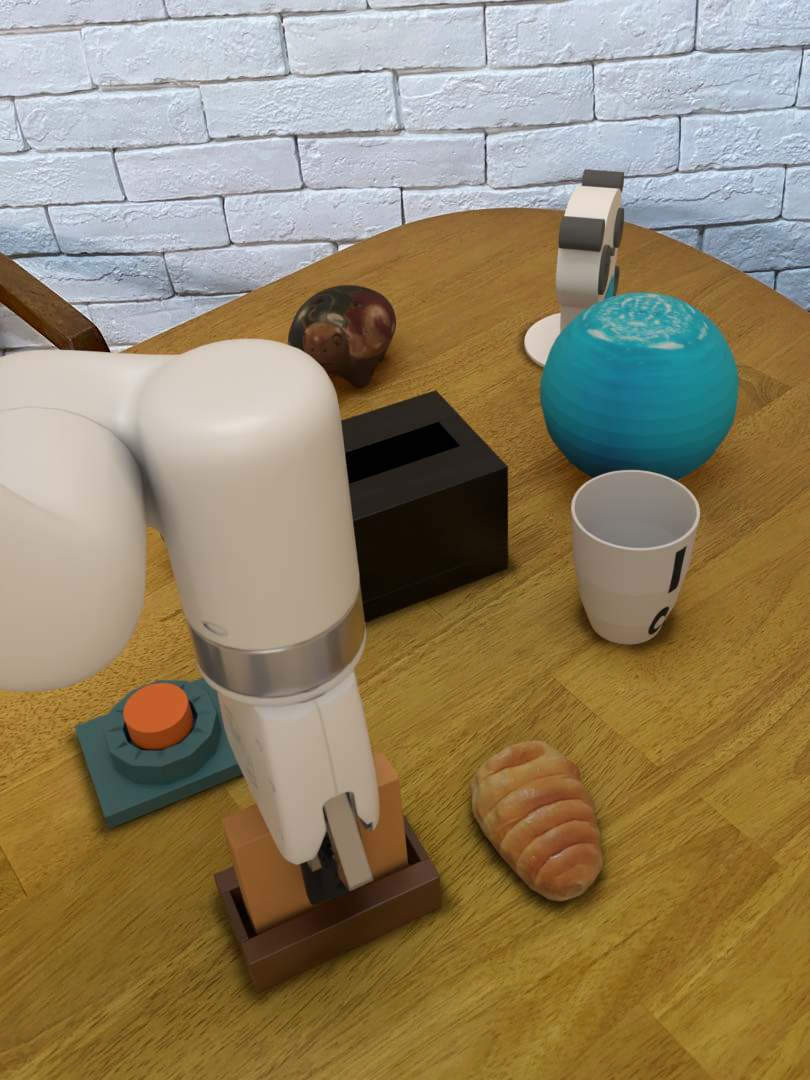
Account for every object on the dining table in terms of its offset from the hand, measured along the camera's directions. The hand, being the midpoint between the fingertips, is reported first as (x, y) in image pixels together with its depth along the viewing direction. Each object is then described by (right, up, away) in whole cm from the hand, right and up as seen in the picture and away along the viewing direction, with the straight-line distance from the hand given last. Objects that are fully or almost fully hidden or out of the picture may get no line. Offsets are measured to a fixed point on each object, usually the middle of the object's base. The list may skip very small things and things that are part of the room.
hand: (322, 858), depth 60 cm
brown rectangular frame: (0, -4, +3) cm, 5 cm away
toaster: (+3, +16, +25) cm, 30 cm away
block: (-11, +3, +12) cm, 16 cm away
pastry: (+12, 0, +6) cm, 14 cm away
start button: (-11, +5, +10) cm, 16 cm away
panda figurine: (+21, +35, +46) cm, 62 cm away
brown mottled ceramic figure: (-1, +33, +45) cm, 56 cm away
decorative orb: (+23, +23, +31) cm, 45 cm away
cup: (+20, +11, +19) cm, 30 cm away
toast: (0, -4, +3) cm, 5 cm away
